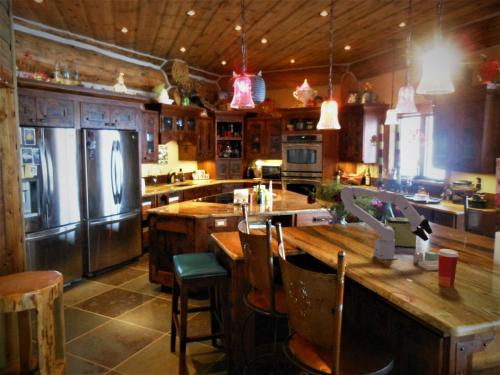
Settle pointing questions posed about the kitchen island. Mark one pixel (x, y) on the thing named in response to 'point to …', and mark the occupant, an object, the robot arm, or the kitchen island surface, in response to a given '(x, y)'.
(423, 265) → the parts tray
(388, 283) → the kitchen island surface
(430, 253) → the teal block
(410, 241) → the protein box
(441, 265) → the paper cup
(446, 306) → the kitchen island surface
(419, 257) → the silver metal cylinder
